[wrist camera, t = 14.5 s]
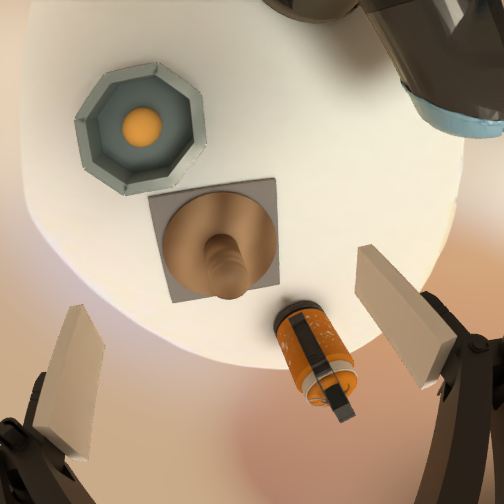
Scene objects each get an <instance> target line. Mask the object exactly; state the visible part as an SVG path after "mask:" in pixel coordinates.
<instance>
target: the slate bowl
mask: <svg viewBox="0 0 504 504" xmlns="http://www.w3.org/2000/svg"><path fill="white" fill-rule="evenodd" d="M137 108H150V109H152V110H154V111H155V112H156V113H157V114H158V115H159V116H160V118H161V121H162V131H161V134H160V136H159V137H158V139H157V140H156V141H155V142H154V143H152V144H151V145H149V146H146V147H136V146H133V145H131V144H129V143H128V142H127V141H126V140H125V138H124V136H123V133H122V125H123V121H124V119H125V117H126V116H127V115H128V114H129V113H130V112H131V111H133V110H134V109H137ZM75 118H76V120H74V123H75V129H76V135H77V140H78V146H79V151H80V156H81V161H82V166H83V168H84V167H85V169H84V170H85V171H87V172H88V173H90V174H91V175H93V176H94V177H96V178H97V179H99V180H100V181H102V182H103V183H105V184H106V185H108V186H109V187H111V188H112V189H114V190H115V191H117V192H118V193H120V194H121V195H124V194H125V196H129V195H134V194H139V193H144V192H150V191H155V190H161V189H166V188H172V187H173V185H174V186H176V184H177V183H178V182H179V180H180V179H181V178H182V177H183V175H184V174H185V173H186V171H187V170H188V169H189V167H190V166H191V165H192V164H193V162H194V161H195V160H196V159H197V157H198V156H199V155H200V153H201V152H202V151H203V150H204V149H205V147H206V145H205V144H207V141H206V132H205V122H204V112H203V102H202V94H200V91H198V90H197V89H196V88H194V87H193V86H191V85H190V84H189V83H187V82H186V81H185V80H183V79H182V78H180V77H179V76H178V75H176V74H175V73H174V72H172V71H171V70H169V69H168V68H166V67H165V66H164V65H162V64H161V63H159V64H158V63H157V62H156V63H150V64H145V65H140V66H135V67H130V68H126V69H121V70H117V71H113V72H108V73H106V75H103V76H102V78H101V79H100V80H99V82H98V83H97V85H96V86H95V87H94V89H93V90H92V92H91V93H90V95H89V96H88V98H87V99H86V101H85V102H84V104H83V105H82V107H81V108H80V110H79V112H78V113H77V115H76V116H75Z"/></svg>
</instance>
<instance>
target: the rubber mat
mask: <svg viewBox="0 0 504 504" xmlns="http://www.w3.org/2000/svg"><path fill="white" fill-rule="evenodd" d="M217 191H229V192H235V193H239V194H242V195H245V196H247V197H249V198H251V199H252V200H254V201H255V202H257V203H258V204H259V205H260V206H261V207H262V208H263V209H264V210H265V211H266V212H267V214H268V215H269V217H270V218H271V220H272V222H273V224H274V227H275V231H276V236H277V248H276V253H275V256H274V259H273V262H272V264H271V266H270V267H269V269H268V270H267V272H266V273H265V274H264V275H263V277H261V278H260V279H259V280H258V281H257V282H256V283H255V284H253V285H252V286H250V287H249V288H248V290H252V289H258V288H263V287H268V286H274V285H279V284H280V277H279V244H278V216H277V192H276V179H275V178H271V179H262V180H254V181H246V182H239V183H231V184H224V185H217V186H211V187H204V188H198V189H191V190H185V191H179V192H173V193H167V194H161V195H156V196H150V197H149V198H148V200H149V205H150V210H151V215H152V219H153V224H154V229H155V233H156V238H157V242H158V247H159V251H160V255H161V259H162V264H163V268H164V272H165V276H166V280H167V284H168V288H169V291H170V295H171V299H172V303H177V302H183V301H189V300H195V299H201V298H207V297H213V296H207V295H202V294H198V293H195V292H193V291H191V290H189V289H187V288H185V287H184V286H182V285H181V284H180V283H179V282H178V281H177V280H176V279H175V278H174V277H173V276H172V274H171V273H170V271H169V270H168V268H167V265H166V263H165V259H164V254H163V241H164V235H165V231H166V228H167V226H168V224H169V221H170V220H171V218H172V217H173V215H174V214H175V213H176V212H177V211H178V209H179V208H181V207H182V206H183V205H184V204H185V203H187V202H188V201H190V200H191V199H193V198H195V197H197V196H200V195H203V194H206V193H210V192H217Z"/></svg>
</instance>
